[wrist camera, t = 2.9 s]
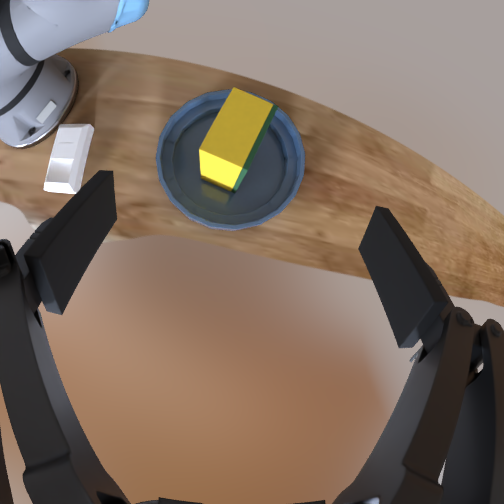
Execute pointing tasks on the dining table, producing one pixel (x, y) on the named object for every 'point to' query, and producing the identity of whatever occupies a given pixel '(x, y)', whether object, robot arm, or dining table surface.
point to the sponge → (234, 139)
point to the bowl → (254, 182)
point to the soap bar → (68, 158)
